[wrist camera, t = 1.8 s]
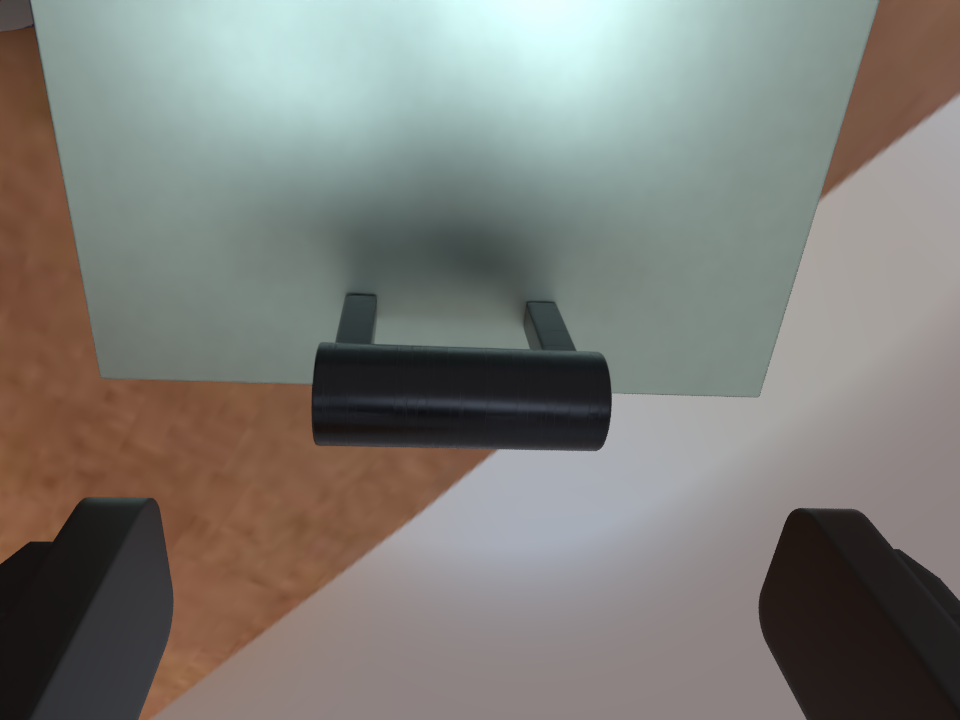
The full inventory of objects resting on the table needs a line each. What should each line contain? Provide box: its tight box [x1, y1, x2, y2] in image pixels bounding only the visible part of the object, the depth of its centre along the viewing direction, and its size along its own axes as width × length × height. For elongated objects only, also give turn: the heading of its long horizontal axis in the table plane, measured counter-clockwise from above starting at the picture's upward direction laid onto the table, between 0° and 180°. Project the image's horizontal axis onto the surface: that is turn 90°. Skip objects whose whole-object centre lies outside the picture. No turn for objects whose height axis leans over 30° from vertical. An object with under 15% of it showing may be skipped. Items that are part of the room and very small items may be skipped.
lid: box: [29, 0, 880, 451], centre depth 11 cm, size 16×16×5 cm
